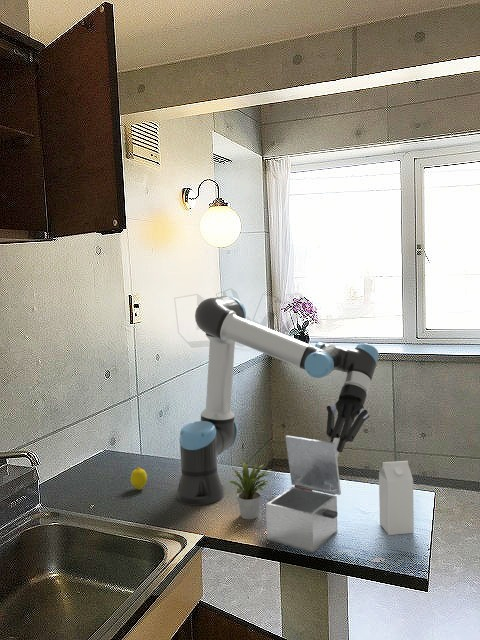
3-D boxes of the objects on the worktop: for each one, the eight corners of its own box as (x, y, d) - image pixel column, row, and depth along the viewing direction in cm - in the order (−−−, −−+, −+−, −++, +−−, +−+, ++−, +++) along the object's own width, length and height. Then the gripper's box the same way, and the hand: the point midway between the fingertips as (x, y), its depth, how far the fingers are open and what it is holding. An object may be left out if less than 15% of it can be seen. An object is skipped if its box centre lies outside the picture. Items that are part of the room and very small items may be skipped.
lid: (285, 436, 159) (290, 432, 161) (291, 486, 163) (296, 481, 165) (333, 444, 150) (338, 439, 153) (339, 496, 154) (344, 491, 156)
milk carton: (379, 524, 158) (378, 458, 157) (404, 522, 159) (403, 456, 157) (388, 535, 151) (387, 466, 150) (414, 533, 152) (413, 465, 150)
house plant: (260, 531, 156) (258, 474, 155) (217, 523, 162) (215, 468, 161) (280, 511, 169) (279, 458, 167) (239, 504, 175) (237, 453, 174)
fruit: (148, 485, 194) (146, 463, 193) (147, 491, 188) (146, 468, 188) (131, 487, 193) (130, 464, 193) (130, 493, 188) (129, 469, 187)
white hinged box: (258, 536, 153) (256, 501, 152) (284, 518, 164) (283, 484, 163) (323, 556, 141) (322, 517, 140) (347, 534, 153) (346, 498, 152)
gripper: (379, 399, 165) (357, 471, 153) (338, 395, 173) (315, 464, 161) (371, 384, 161) (349, 458, 148) (330, 381, 168) (305, 451, 156)
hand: (331, 461), depth 155 cm, fingers closed
